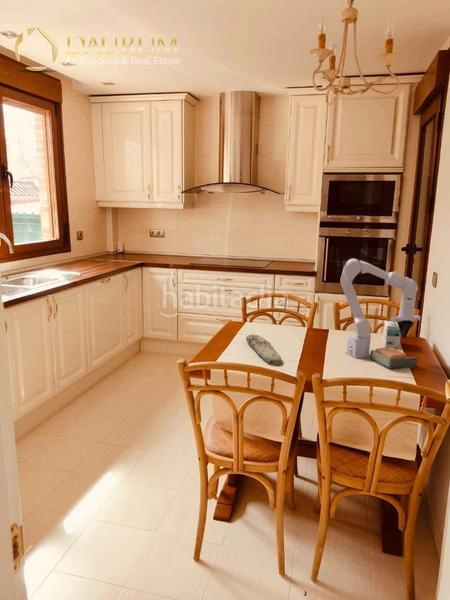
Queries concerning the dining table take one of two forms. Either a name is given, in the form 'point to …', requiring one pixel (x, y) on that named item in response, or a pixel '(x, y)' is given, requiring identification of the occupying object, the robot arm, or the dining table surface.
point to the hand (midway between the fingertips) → (403, 336)
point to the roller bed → (393, 361)
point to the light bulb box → (391, 334)
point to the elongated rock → (264, 349)
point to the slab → (391, 353)
